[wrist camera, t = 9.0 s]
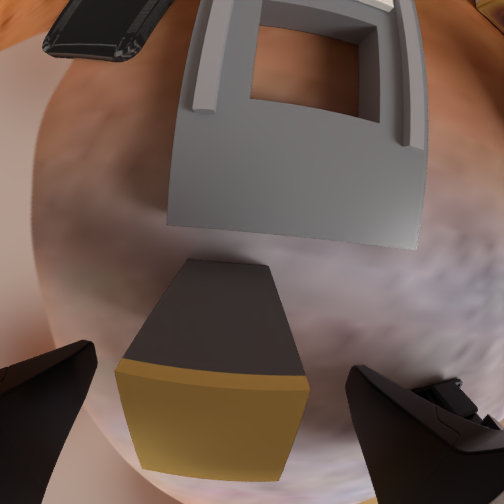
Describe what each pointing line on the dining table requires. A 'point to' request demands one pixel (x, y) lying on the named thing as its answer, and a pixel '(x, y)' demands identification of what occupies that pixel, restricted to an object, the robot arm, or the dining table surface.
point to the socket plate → (302, 130)
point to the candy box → (492, 11)
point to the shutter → (380, 4)
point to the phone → (103, 28)
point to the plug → (215, 377)
